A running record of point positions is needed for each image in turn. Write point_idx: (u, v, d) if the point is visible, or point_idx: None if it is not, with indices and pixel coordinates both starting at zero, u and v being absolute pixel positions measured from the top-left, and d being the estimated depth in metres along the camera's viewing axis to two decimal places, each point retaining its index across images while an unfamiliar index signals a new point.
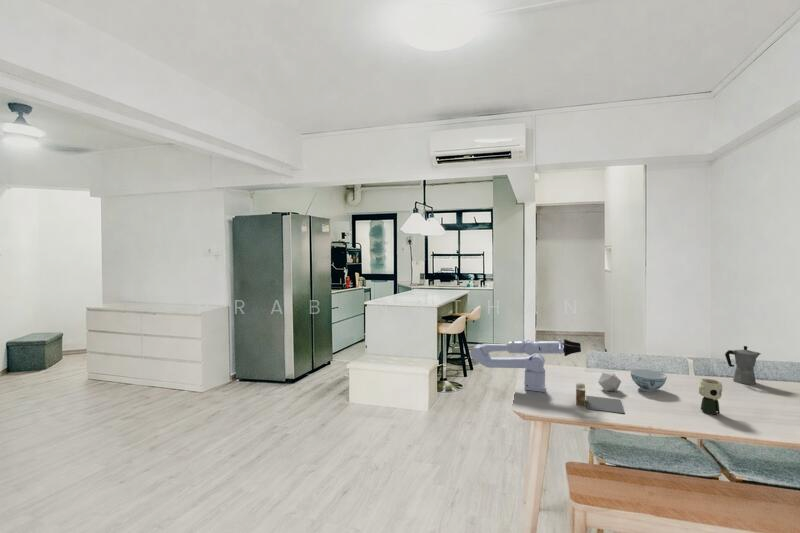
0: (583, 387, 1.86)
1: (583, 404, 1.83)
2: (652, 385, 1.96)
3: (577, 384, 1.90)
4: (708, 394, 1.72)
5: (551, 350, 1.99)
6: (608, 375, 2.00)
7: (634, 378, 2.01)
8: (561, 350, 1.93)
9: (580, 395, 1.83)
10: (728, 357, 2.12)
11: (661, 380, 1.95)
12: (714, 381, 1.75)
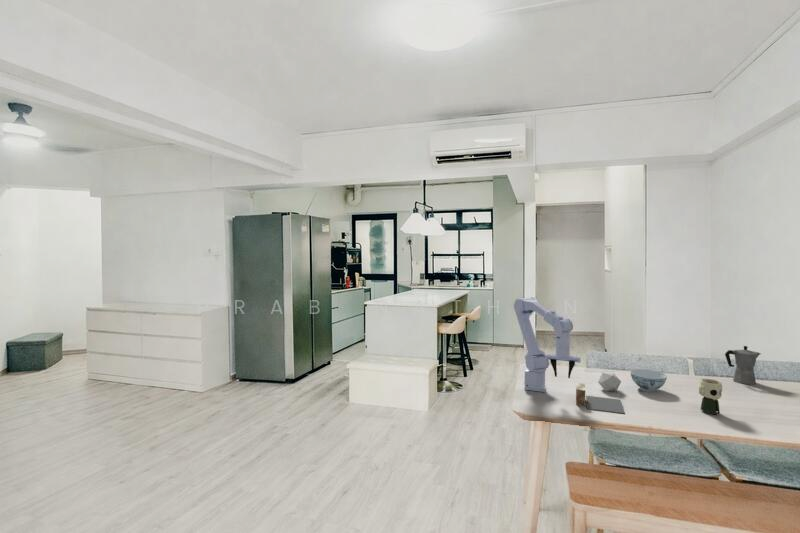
0: (583, 387, 1.86)
1: (583, 404, 1.83)
2: (652, 385, 1.96)
3: (577, 384, 1.90)
4: (708, 394, 1.72)
5: None
6: (608, 375, 2.00)
7: (634, 378, 2.01)
8: (545, 357, 1.92)
9: (580, 395, 1.83)
10: (728, 357, 2.12)
11: (661, 380, 1.95)
12: (714, 381, 1.75)
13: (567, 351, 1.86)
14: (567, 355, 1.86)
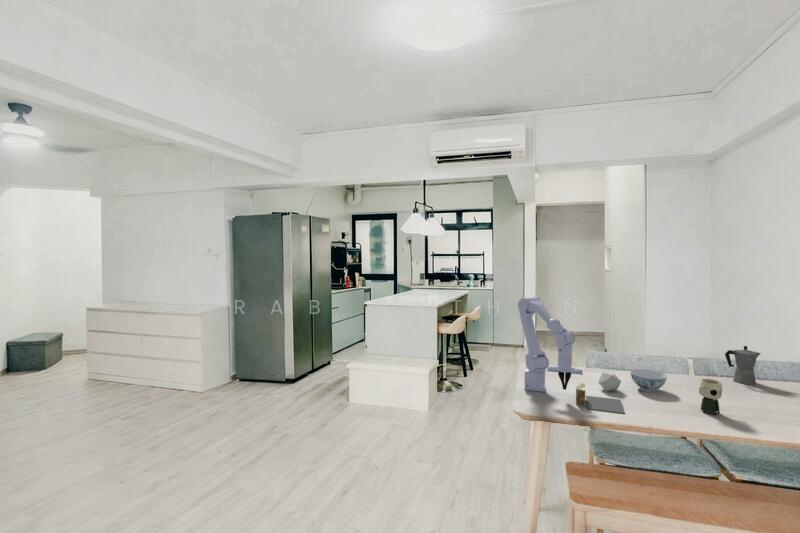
0: (583, 387, 1.86)
1: (583, 404, 1.83)
2: (652, 385, 1.96)
3: (577, 384, 1.90)
4: (708, 394, 1.72)
5: None
6: (608, 375, 2.00)
7: (634, 378, 2.01)
8: (547, 369, 1.92)
9: (580, 395, 1.83)
10: (728, 357, 2.12)
11: (661, 380, 1.95)
12: (714, 381, 1.75)
13: (569, 363, 1.86)
14: (569, 367, 1.86)
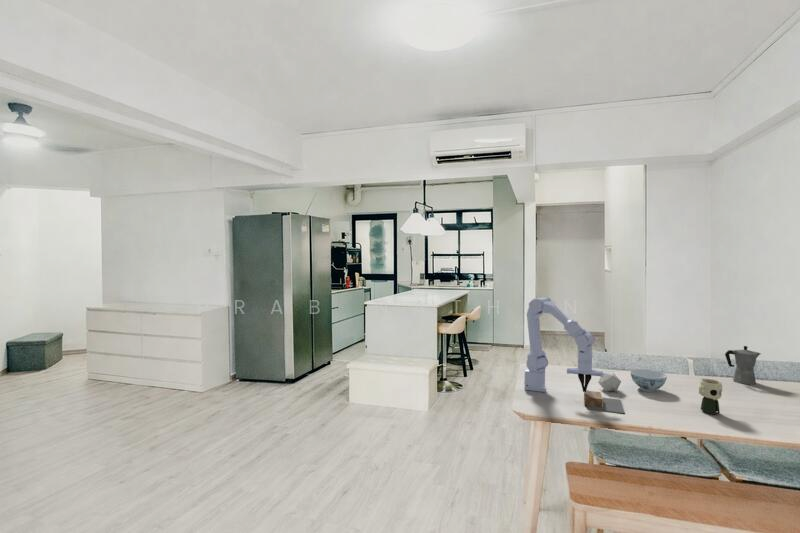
0: None
1: (586, 403, 1.82)
2: (652, 385, 1.96)
3: (601, 394, 1.86)
4: (708, 394, 1.72)
5: None
6: (608, 375, 2.00)
7: (634, 378, 2.01)
8: None
9: (596, 402, 1.81)
10: (728, 357, 2.12)
11: (661, 380, 1.95)
12: (714, 381, 1.75)
13: (589, 365, 1.83)
14: (589, 369, 1.83)
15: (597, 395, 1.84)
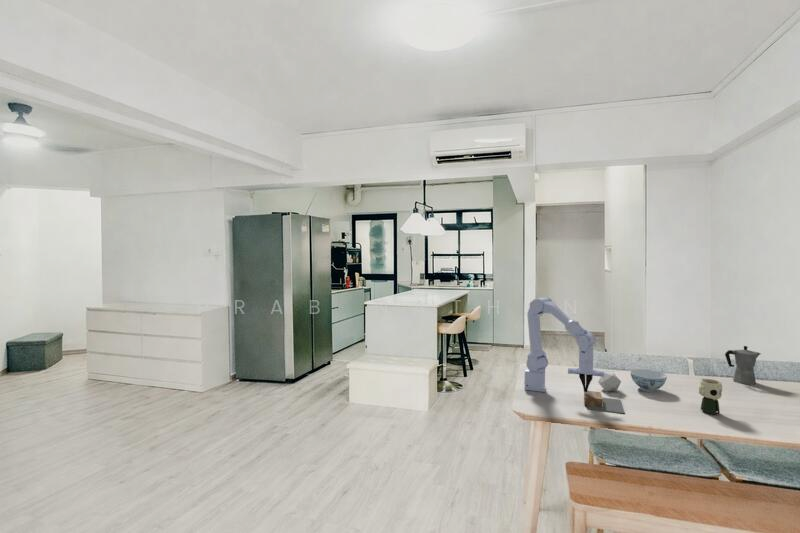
0: None
1: (586, 403, 1.82)
2: (652, 385, 1.96)
3: (601, 394, 1.86)
4: (708, 394, 1.72)
5: None
6: (608, 375, 2.00)
7: (634, 378, 2.01)
8: None
9: (596, 402, 1.81)
10: (728, 357, 2.12)
11: (661, 380, 1.95)
12: (714, 381, 1.75)
13: (591, 365, 1.83)
14: (591, 369, 1.83)
15: (597, 395, 1.84)
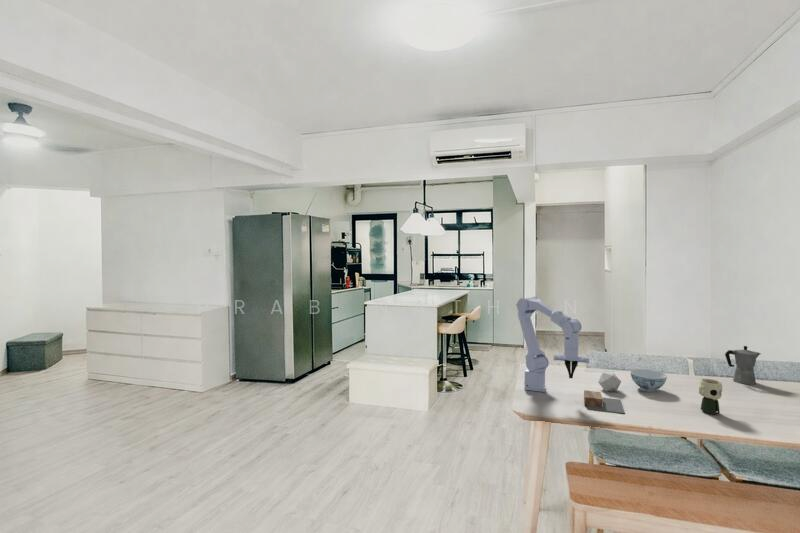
0: None
1: (586, 403, 1.82)
2: (652, 385, 1.96)
3: (601, 394, 1.86)
4: (708, 394, 1.72)
5: None
6: (608, 375, 2.00)
7: (634, 378, 2.01)
8: None
9: (596, 402, 1.81)
10: (728, 357, 2.12)
11: (661, 380, 1.95)
12: (714, 381, 1.75)
13: (576, 352, 1.85)
14: (576, 356, 1.85)
15: (597, 395, 1.84)
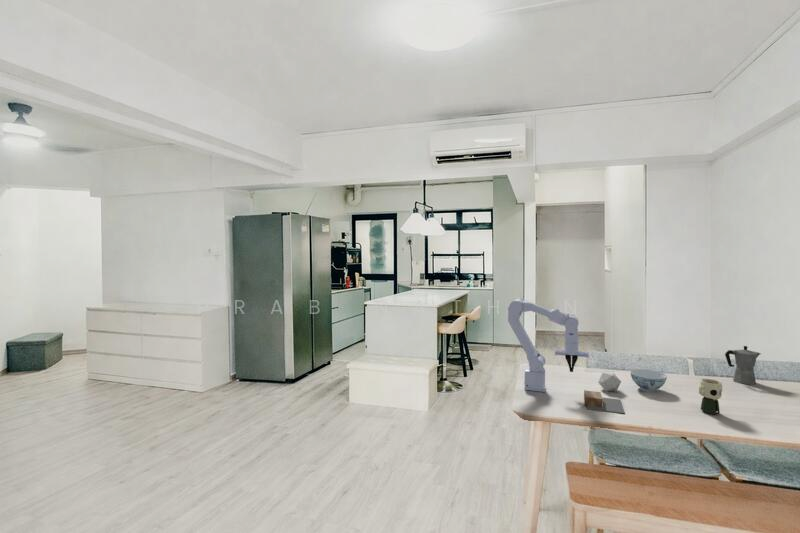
0: None
1: (586, 403, 1.82)
2: (652, 385, 1.96)
3: (601, 394, 1.86)
4: (708, 394, 1.72)
5: None
6: (608, 375, 2.00)
7: (634, 378, 2.01)
8: None
9: (596, 402, 1.81)
10: (728, 357, 2.12)
11: (661, 380, 1.95)
12: (714, 381, 1.75)
13: (576, 346, 1.94)
14: (576, 350, 1.94)
15: (597, 395, 1.84)
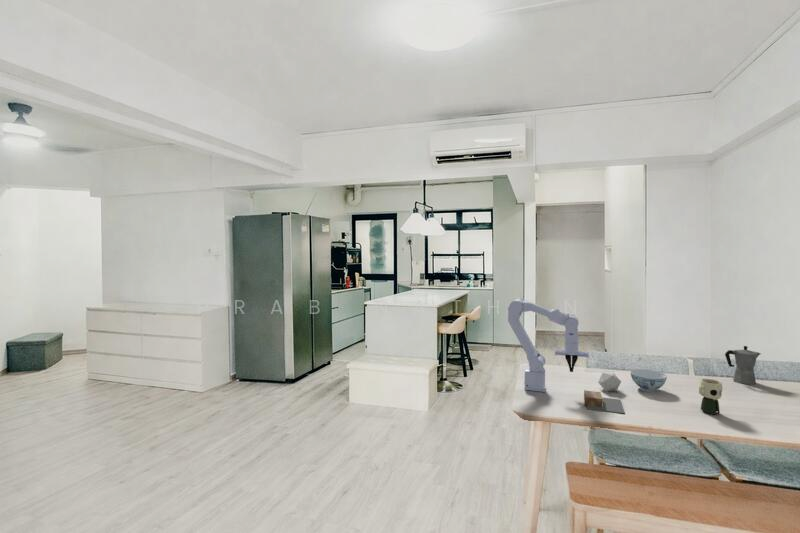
0: None
1: (586, 403, 1.82)
2: (652, 385, 1.96)
3: (601, 394, 1.86)
4: (708, 394, 1.72)
5: None
6: (608, 375, 2.00)
7: (634, 378, 2.01)
8: None
9: (596, 402, 1.81)
10: (728, 357, 2.12)
11: (661, 380, 1.95)
12: (714, 381, 1.75)
13: (576, 346, 1.94)
14: (576, 350, 1.94)
15: (597, 395, 1.84)
